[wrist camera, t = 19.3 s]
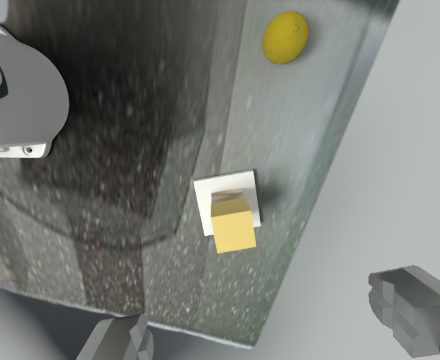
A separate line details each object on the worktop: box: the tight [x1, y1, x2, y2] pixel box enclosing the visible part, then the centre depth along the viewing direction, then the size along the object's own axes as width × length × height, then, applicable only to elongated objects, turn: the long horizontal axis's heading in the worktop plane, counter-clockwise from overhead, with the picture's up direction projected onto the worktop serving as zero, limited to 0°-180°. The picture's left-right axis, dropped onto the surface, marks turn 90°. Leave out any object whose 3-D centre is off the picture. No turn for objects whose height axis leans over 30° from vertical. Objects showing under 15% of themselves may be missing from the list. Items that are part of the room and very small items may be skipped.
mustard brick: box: [211, 198, 256, 253], centre depth 29 cm, size 5×5×5 cm
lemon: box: [263, 11, 309, 64], centre depth 28 cm, size 6×6×8 cm
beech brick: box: [211, 188, 245, 203], centre depth 34 cm, size 5×5×5 cm
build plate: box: [194, 170, 261, 236], centre depth 37 cm, size 10×10×1 cm
